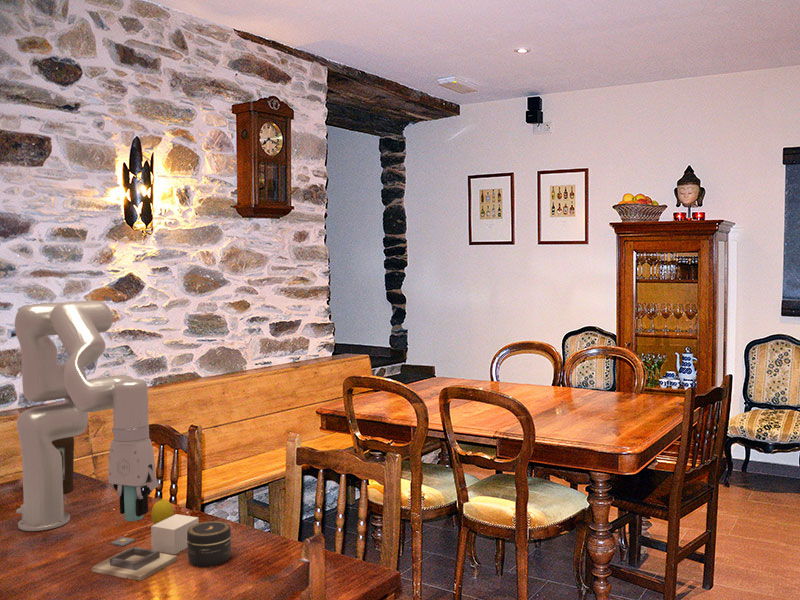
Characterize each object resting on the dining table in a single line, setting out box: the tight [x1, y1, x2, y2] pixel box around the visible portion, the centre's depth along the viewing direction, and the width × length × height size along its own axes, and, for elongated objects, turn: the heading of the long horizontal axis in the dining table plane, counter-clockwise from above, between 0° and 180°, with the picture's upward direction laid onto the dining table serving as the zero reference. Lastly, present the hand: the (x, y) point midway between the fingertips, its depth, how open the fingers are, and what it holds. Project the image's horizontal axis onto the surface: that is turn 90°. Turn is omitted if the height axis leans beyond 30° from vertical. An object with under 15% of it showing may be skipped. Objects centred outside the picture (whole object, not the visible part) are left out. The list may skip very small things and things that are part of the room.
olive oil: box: [52, 436, 75, 495], centre depth 221 cm, size 11×11×25 cm
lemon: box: [150, 498, 175, 525], centre depth 188 cm, size 6×6×8 cm
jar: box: [187, 520, 232, 568], centre depth 168 cm, size 10×10×8 cm
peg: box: [124, 486, 144, 522], centre depth 164 cm, size 4×4×8 cm
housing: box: [150, 513, 200, 555], centre depth 176 cm, size 7×9×6 cm
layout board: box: [91, 546, 178, 582], centre depth 165 cm, size 14×12×2 cm
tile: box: [110, 536, 136, 547], centre depth 179 cm, size 4×4×1 cm
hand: (134, 512), depth 164 cm, fingers closed on peg, 4 cm apart
